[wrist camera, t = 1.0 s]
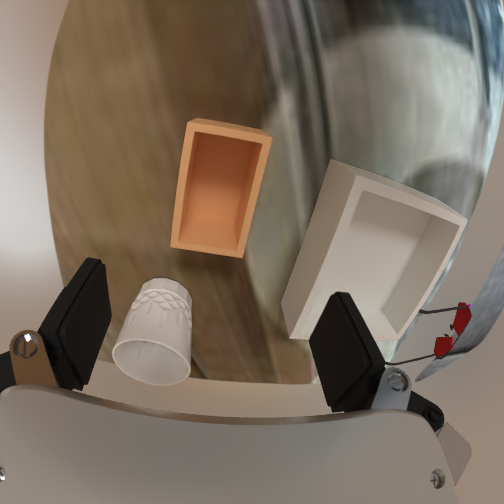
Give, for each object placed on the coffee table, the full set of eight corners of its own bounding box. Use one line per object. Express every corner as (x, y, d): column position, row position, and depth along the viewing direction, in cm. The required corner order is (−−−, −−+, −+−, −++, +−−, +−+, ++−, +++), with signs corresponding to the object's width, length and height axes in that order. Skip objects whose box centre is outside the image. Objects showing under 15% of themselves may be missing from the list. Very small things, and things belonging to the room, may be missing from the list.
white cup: (205, 316, 33) (202, 382, 25) (151, 326, 34) (137, 388, 25) (182, 266, 29) (169, 333, 21) (123, 280, 30) (97, 343, 21)
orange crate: (197, 117, 22) (187, 121, 17) (262, 129, 23) (272, 137, 18) (181, 217, 27) (170, 247, 21) (239, 226, 28) (242, 258, 23)
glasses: (432, 346, 45) (442, 363, 41) (372, 359, 43) (381, 380, 39) (464, 295, 38) (478, 312, 34) (403, 301, 36) (418, 323, 32)
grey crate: (330, 158, 24) (356, 175, 19) (437, 199, 27) (468, 219, 22) (280, 302, 33) (289, 338, 28) (381, 310, 36) (398, 339, 31)
